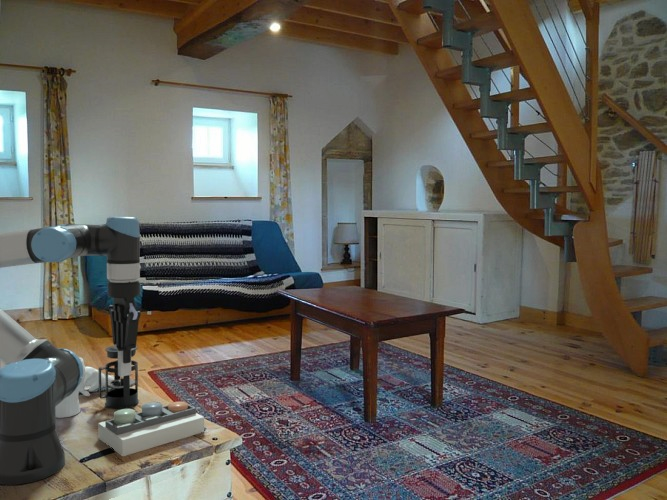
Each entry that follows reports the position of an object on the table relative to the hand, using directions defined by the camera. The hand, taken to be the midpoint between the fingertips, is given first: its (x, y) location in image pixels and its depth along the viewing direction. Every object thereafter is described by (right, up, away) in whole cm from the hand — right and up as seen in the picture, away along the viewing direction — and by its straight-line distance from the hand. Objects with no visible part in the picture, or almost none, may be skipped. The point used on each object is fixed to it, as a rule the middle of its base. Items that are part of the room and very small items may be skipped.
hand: (124, 374), depth 139 cm
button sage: (0, -11, +1) cm, 11 cm away
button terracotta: (+10, -12, +11) cm, 19 cm away
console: (+5, -17, +6) cm, 19 cm away
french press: (-12, -15, +28) cm, 34 cm away
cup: (-24, -16, +20) cm, 35 cm away
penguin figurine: (-23, -14, +38) cm, 47 cm away
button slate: (+5, -11, +6) cm, 14 cm away
